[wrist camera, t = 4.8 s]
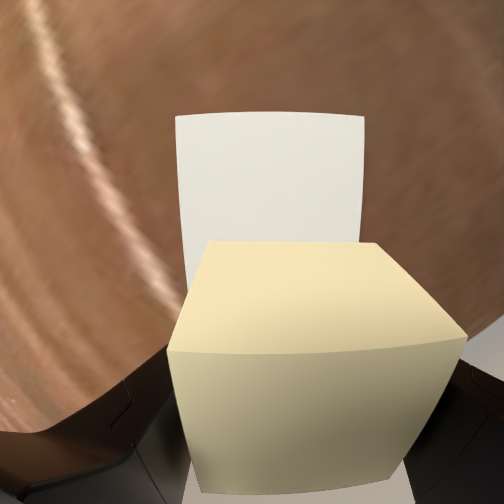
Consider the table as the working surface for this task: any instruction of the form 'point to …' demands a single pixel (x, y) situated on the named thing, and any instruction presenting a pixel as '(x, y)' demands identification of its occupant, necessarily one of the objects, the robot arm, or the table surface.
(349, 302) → the sticky note cube
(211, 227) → the notebook
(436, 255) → the table surface
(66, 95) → the table surface
